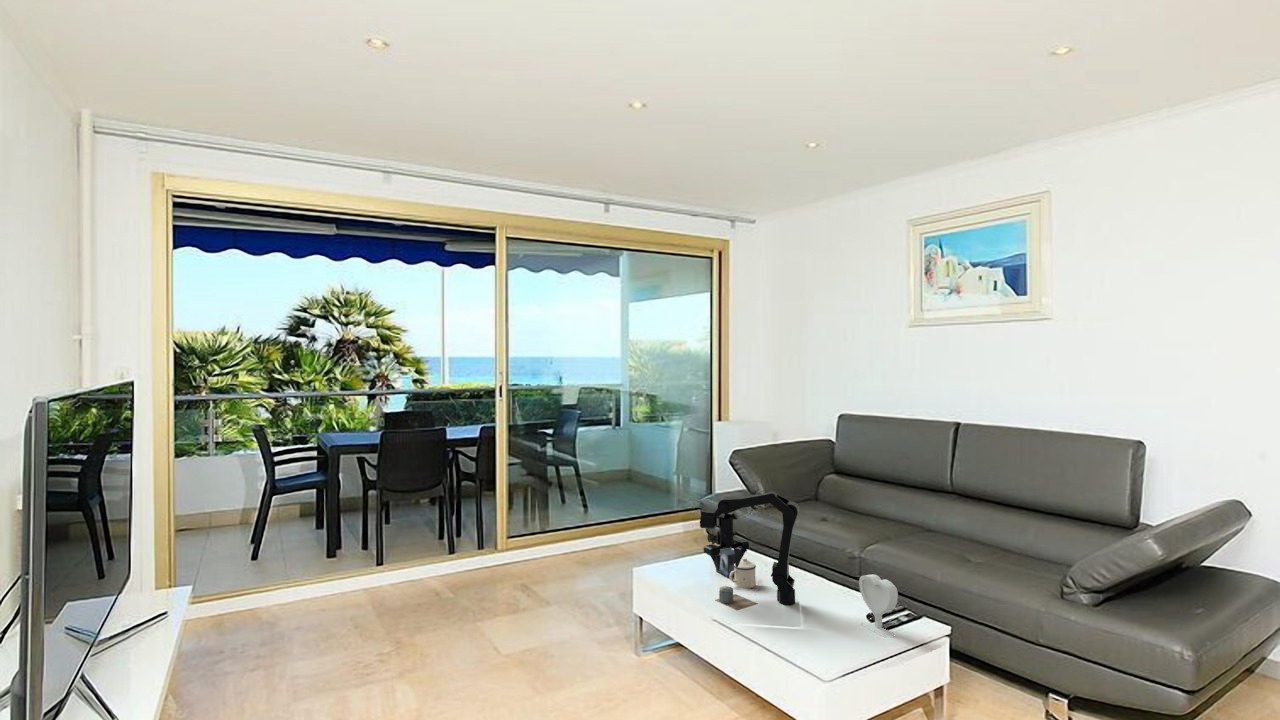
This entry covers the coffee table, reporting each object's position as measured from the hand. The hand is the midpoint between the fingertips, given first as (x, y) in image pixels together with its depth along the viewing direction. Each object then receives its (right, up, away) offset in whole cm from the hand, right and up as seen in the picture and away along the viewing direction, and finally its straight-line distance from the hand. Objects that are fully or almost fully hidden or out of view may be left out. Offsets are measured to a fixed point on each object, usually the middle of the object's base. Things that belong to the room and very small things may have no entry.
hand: (727, 568), depth 270 cm
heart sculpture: (+49, -12, -32) cm, 60 cm away
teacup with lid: (+8, -12, +14) cm, 20 cm away
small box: (+4, -12, +30) cm, 33 cm away
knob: (-1, -11, -4) cm, 12 cm away
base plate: (+3, -12, -5) cm, 13 cm away
